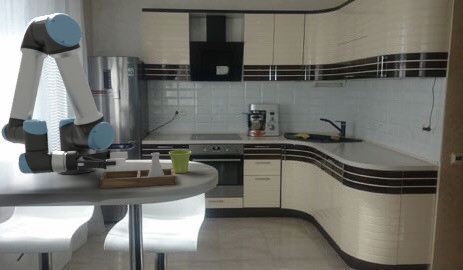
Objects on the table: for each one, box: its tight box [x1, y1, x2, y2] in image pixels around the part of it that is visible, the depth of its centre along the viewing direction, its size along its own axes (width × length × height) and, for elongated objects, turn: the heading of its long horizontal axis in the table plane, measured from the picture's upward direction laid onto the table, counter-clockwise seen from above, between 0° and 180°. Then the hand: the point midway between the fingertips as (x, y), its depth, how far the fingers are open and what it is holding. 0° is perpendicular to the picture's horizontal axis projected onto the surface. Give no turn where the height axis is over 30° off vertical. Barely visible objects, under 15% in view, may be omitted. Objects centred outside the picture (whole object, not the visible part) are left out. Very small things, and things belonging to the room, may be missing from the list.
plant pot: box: [168, 149, 192, 174], centre depth 162 cm, size 9×9×9 cm
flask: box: [148, 152, 165, 177], centre depth 147 cm, size 7×7×10 cm
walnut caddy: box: [99, 167, 177, 189], centre depth 146 cm, size 14×27×3 cm, turn 103°
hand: (126, 158), depth 144 cm, fingers open, 13 cm apart
